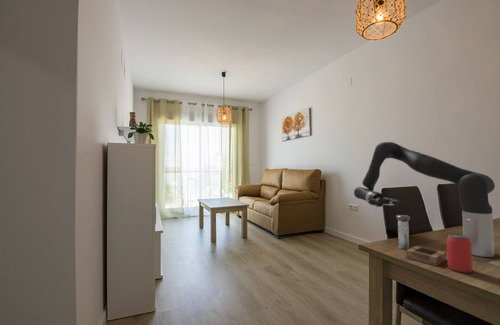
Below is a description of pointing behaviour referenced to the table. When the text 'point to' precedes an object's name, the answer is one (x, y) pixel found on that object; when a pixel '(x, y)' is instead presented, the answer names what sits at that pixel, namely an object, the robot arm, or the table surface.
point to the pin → (403, 231)
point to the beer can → (459, 253)
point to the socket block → (426, 255)
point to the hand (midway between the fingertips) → (390, 204)
